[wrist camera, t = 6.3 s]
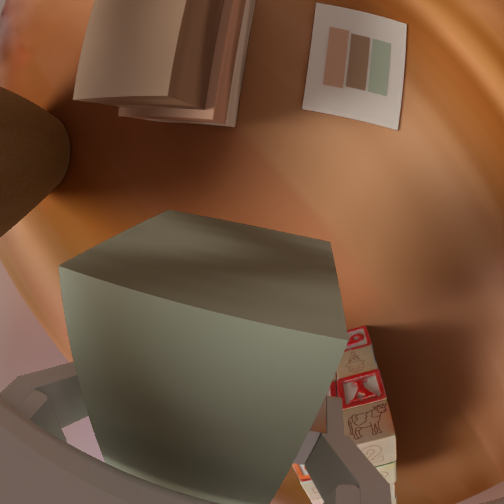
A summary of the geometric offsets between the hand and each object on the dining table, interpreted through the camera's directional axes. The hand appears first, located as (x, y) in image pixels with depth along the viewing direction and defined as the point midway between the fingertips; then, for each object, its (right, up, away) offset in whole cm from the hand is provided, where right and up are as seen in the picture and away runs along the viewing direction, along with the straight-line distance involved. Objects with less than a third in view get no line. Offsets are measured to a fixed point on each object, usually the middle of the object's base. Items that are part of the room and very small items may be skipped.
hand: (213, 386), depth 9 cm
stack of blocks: (+11, -12, +19) cm, 25 cm away
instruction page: (+9, +18, +9) cm, 22 cm away
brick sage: (0, +1, +2) cm, 2 cm away
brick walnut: (-3, +17, +5) cm, 18 cm away
